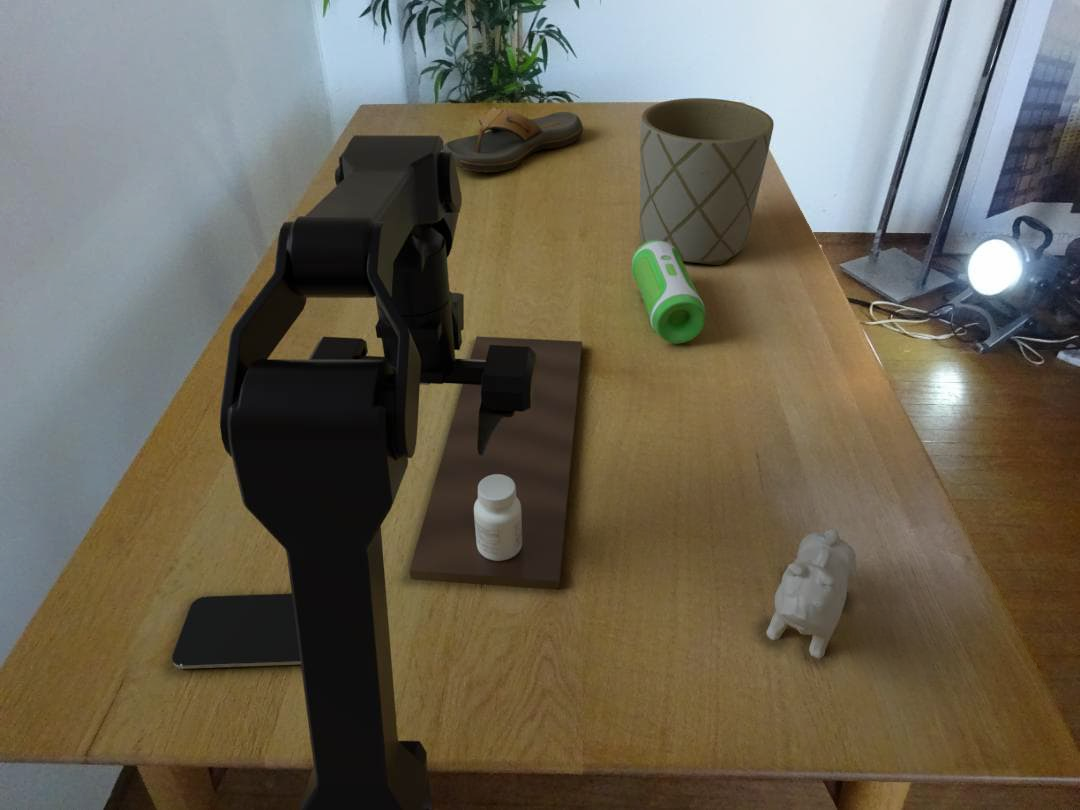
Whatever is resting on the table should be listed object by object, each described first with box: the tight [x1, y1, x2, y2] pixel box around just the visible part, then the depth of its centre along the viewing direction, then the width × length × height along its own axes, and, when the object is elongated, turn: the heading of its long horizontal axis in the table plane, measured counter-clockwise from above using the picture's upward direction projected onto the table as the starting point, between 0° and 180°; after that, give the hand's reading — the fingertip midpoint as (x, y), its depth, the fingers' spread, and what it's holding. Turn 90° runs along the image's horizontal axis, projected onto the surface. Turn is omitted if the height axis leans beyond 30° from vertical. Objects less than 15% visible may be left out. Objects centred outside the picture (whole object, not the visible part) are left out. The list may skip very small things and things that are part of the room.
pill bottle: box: [474, 474, 522, 561], centre depth 75 cm, size 4×4×8 cm
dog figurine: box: [766, 528, 857, 659], centre depth 68 cm, size 5×13×11 cm, turn 150°
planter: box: [639, 97, 775, 266], centre depth 124 cm, size 19×19×20 cm
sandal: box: [441, 106, 584, 173], centre depth 158 cm, size 14×34×9 cm, turn 129°
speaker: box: [631, 240, 706, 345], centre depth 111 cm, size 18×7×8 cm, turn 5°
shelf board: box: [408, 335, 583, 590], centre depth 91 cm, size 40×14×1 cm, turn 175°
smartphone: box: [171, 593, 301, 670], centre depth 71 cm, size 7×1×15 cm
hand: (430, 449), depth 72 cm, fingers open, 9 cm apart
